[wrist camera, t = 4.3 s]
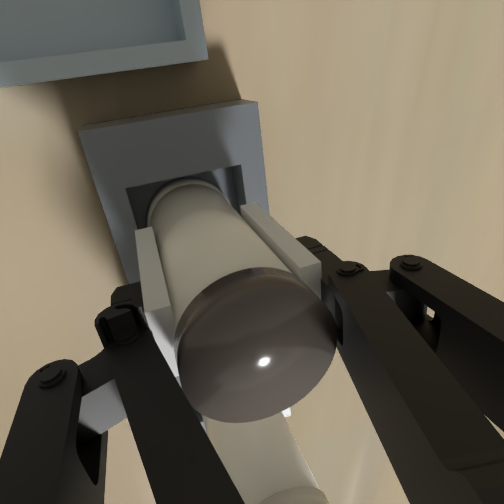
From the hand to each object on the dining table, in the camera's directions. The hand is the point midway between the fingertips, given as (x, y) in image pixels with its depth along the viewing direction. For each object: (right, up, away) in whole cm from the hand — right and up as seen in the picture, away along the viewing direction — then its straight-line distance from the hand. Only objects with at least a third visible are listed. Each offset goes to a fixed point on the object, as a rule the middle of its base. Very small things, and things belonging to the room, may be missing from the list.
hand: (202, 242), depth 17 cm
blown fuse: (-1, +1, +3) cm, 4 cm away
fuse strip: (-1, -3, +6) cm, 7 cm away
